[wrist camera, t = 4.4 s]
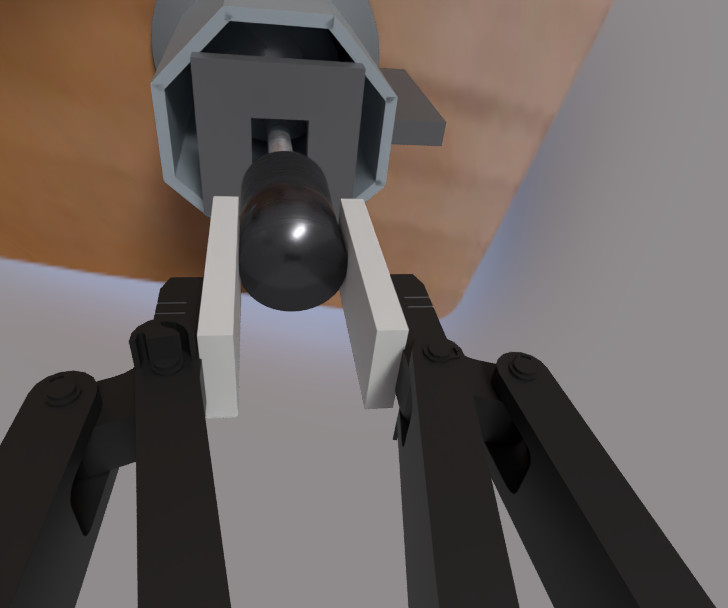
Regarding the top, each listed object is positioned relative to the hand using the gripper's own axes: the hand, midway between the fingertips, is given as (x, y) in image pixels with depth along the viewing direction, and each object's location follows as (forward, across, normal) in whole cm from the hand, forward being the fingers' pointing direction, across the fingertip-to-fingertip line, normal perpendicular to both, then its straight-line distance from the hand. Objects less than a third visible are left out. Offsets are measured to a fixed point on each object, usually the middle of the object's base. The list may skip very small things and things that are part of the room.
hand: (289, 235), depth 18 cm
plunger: (+18, 0, 0) cm, 18 cm away
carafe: (+21, +1, 0) cm, 21 cm away
